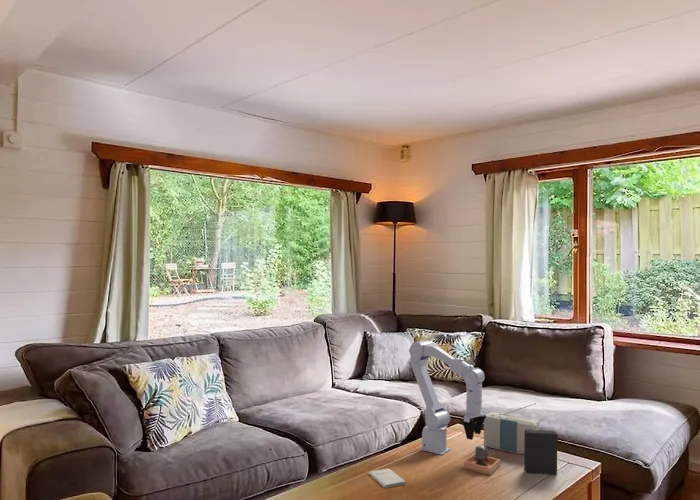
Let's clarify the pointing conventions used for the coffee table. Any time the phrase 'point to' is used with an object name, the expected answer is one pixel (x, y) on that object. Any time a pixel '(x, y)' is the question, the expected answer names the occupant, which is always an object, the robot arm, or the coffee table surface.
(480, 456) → the cell
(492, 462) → the dish
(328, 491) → the coffee table surface
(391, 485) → the external hard drive
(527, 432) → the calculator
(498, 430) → the stereo radio cassette player
